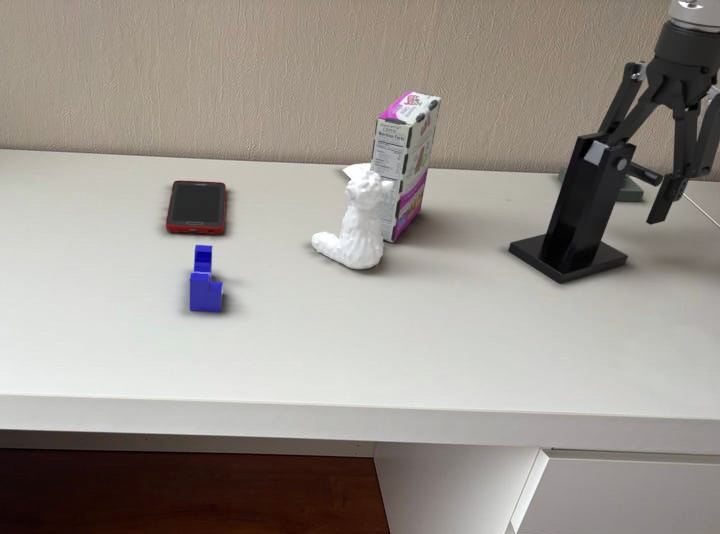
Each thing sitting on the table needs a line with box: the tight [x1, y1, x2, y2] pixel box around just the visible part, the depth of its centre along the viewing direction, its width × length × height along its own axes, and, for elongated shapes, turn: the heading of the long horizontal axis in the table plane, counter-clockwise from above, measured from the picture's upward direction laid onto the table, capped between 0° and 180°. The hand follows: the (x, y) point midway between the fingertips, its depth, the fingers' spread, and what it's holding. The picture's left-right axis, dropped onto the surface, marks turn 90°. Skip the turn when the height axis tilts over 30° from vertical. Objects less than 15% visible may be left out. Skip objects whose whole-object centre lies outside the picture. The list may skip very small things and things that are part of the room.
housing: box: [557, 167, 645, 203], centre depth 116 cm, size 10×8×4 cm
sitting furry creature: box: [311, 170, 394, 270], centre depth 92 cm, size 10×9×12 cm
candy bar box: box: [370, 90, 442, 244], centre depth 99 cm, size 11×5×16 cm, turn 150°
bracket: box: [507, 132, 637, 284], centre depth 94 cm, size 12×9×16 cm
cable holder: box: [189, 244, 224, 313], centre depth 86 cm, size 8×4×4 cm, turn 178°
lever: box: [584, 141, 664, 188], centre depth 93 cm, size 12×5×2 cm, turn 117°
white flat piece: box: [342, 162, 371, 180], centre depth 112 cm, size 5×15×1 cm, turn 16°
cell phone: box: [165, 179, 227, 234], centre depth 104 cm, size 8×15×1 cm, turn 0°
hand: (628, 208), depth 99 cm, fingers open, 8 cm apart
